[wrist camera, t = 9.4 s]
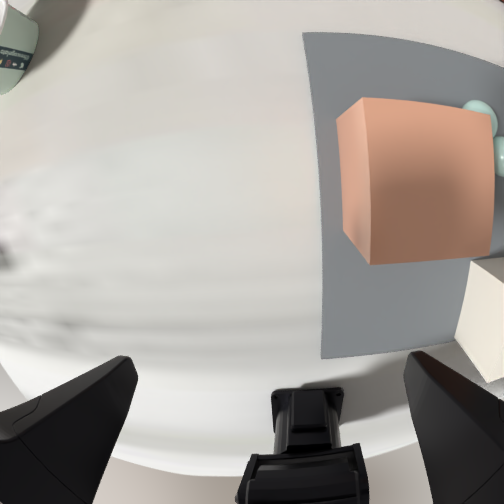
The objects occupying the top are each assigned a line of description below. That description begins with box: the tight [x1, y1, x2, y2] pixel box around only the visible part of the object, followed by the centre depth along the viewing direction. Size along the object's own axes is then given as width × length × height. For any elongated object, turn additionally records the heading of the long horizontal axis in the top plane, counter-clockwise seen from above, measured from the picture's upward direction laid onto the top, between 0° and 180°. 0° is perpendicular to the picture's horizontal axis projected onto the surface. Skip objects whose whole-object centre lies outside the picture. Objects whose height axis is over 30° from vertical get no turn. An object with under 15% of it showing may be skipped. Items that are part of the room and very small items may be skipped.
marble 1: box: [462, 100, 498, 137], centre depth 13 cm, size 3×3×3 cm
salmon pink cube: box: [336, 97, 495, 265], centre depth 13 cm, size 7×7×6 cm
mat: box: [302, 32, 504, 359], centre depth 16 cm, size 24×21×1 cm
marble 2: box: [493, 136, 504, 177], centre depth 13 cm, size 3×3×3 cm
